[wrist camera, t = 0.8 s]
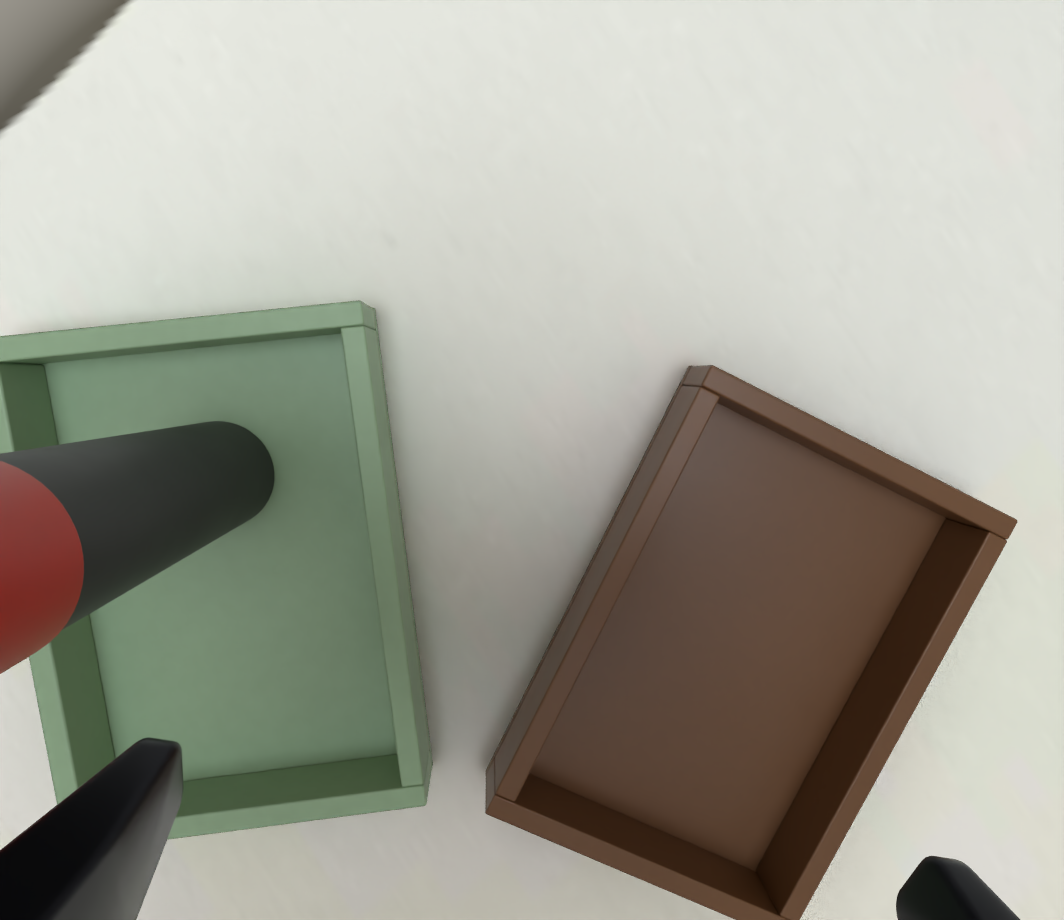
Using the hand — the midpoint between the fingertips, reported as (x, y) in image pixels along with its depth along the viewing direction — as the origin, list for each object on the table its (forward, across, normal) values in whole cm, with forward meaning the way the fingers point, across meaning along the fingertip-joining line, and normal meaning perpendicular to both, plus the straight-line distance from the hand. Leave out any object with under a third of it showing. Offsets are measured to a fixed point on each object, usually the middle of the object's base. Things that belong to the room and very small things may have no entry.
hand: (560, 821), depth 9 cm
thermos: (+14, +10, +6) cm, 18 cm away
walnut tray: (+14, -8, +8) cm, 18 cm away
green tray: (+14, +9, +8) cm, 18 cm away
